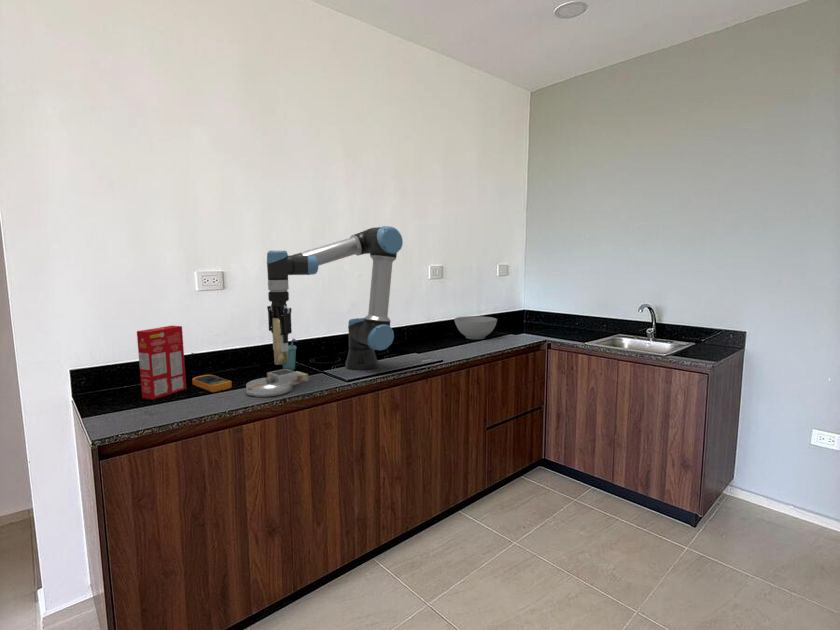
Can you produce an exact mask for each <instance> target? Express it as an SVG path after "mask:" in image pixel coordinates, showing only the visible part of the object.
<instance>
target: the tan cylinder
mask: <svg viewBox="0 0 840 630" xmlns="http://www.w3.org/2000/svg"><path fill="white" fill-rule="evenodd" d="M280 334H282V332H281V326H280V319H279V318H278V317H277V318H273V334H272V340H273V339H274V350H273V358H274V365H277V366H283V364H287V363H288V356H287V351H285V352H281V336H280Z"/></svg>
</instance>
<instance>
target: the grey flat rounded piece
mask: <svg viewBox="0 0 840 630" xmlns="http://www.w3.org/2000/svg"><path fill="white" fill-rule="evenodd" d="M293 380H297V372H295V370H288V369H283V368H282V369H278V370H273V371H269V372H266V377H261V378H257V379H256V378H255V379H253V380H250V381H248V382H247V383H246V384H245V385H246V386H245V387H246V394H247V395H248V396H251V397H256V398H257V397H258V398H268V397H269V398H271V397H276V396H282V395H284V394H288V393H290V392H292V391H293V389H294V385H293V382H292V381H293Z"/></svg>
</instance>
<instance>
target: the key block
mask: <svg viewBox="0 0 840 630" xmlns="http://www.w3.org/2000/svg"><path fill="white" fill-rule="evenodd" d="M294 371H295V370H294ZM295 372H297V380H293V381H292V382H293V386H295V385H298V384H299V385H300V384H303V383H306V382H309V374H308V373H305V372H302V371H298V370H296V371H295Z"/></svg>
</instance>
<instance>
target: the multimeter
mask: <svg viewBox="0 0 840 630" xmlns="http://www.w3.org/2000/svg"><path fill="white" fill-rule="evenodd" d="M191 381H192V386H194V385H195V387H197V388H200V389H203V390H206V391H208V392H209V393H216V392H221V390H222V391H225V390H230V389H232V388H233V387H232V385H233V384H232V383H233V382H232V380H229V379H226V378H222V377H219V376H217V375H213V374H203V375H198V376H195V377H193V378H192V379H191Z"/></svg>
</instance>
